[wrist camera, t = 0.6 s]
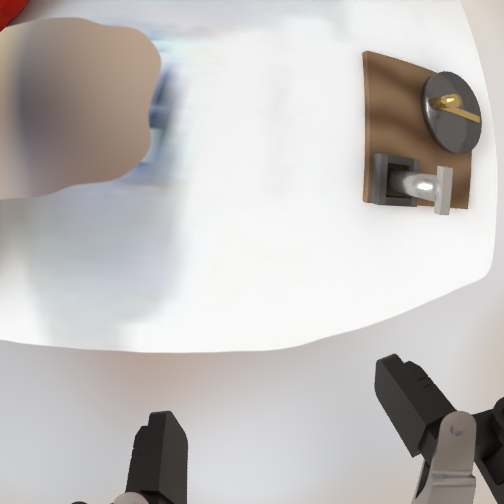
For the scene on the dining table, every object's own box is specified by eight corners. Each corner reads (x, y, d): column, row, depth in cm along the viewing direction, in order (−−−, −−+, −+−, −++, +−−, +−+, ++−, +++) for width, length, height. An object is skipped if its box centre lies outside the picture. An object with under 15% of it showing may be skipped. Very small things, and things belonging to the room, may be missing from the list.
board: (362, 53, 30) (374, 45, 26) (464, 87, 32) (478, 85, 29) (362, 201, 36) (375, 205, 33) (462, 207, 38) (476, 212, 35)
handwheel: (417, 63, 28) (447, 53, 22) (472, 86, 30) (501, 82, 23) (421, 146, 32) (453, 147, 26) (475, 158, 33) (505, 163, 27)
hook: (383, 160, 33) (439, 165, 23) (400, 162, 34) (457, 169, 23) (381, 197, 35) (435, 214, 24) (398, 198, 35) (453, 215, 25)
